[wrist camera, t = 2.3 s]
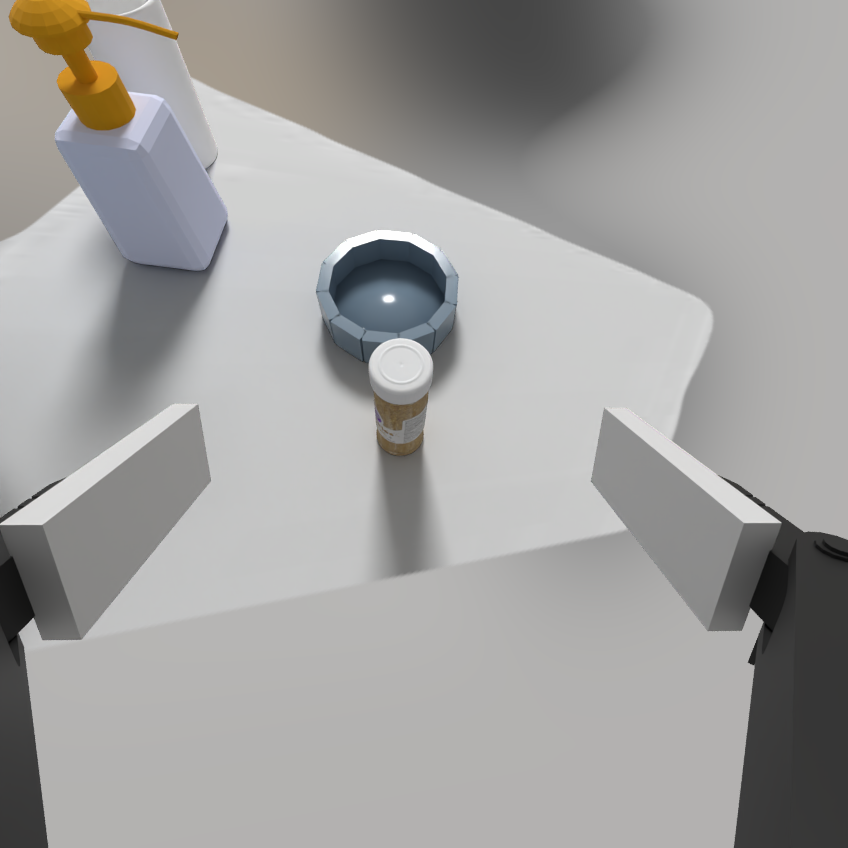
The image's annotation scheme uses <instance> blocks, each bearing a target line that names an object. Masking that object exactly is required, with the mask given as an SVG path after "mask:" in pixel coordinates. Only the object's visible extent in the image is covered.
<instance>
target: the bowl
mask: <svg viewBox="0 0 848 848" xmlns="http://www.w3.org/2000/svg"><path fill="white" fill-rule="evenodd" d="M457 293H458V274H457V272H456V271H455V269H454V268H453V266H452V264H451V263H450V261H449V260H448V258H447V256H446V255H445V253H444V252H443V251H441V249H440V248H439V247H437V246H435V245H433V244H431V243H430V242H428V241H426V240H424V239H423V238H421V237H419V236H417V235H415V234H413V235H412V233H406V232H396V231H385V230H379V233H378V231H377V230H376V231H373V232H369V233H366V234H363V235H360V236H357V237H354V238H350V239H347V240H346V242H345V241H344V242H343V243H342V244H341V245H340V246H339V247H338V248H336V249H335V250H334V251H333V252H332V253H331V254H330V255H329V256H328V257H327V258H326V259H325V260H324V261H323V263H322V265H321V270H320V275H319V279H318V284H317V289H316V294H317V298H318V302H319V306H320V309H321V313H322V317H323V319H324V322H325V324H326V326H327V328H328V330H329V332H330V334H331V337H332V339H333V341H334V343H336V345H337V346H339V347H341V348H342V349H344V350H345V351H347V352H348V353H350V354H351V355H353V356H355V357H356V358H358V359H359V360H361V361H362V362H363V361H364V360H365V363H369V360H370V357H371V355H372V353H373V352H374V350H375V349H376V348H377V347H378V346H379V345H381V344H382V343H384V342H386V341H388V340H392V339H398V338H404V339H410V340H413V341H415V342H417V343H419V344H421V345H422V346H423V347H424V348H425V349H426V350H427V351H428V352H429V354H432V352H434V351H435V350H436V349H437V347H438V346H439V345H440V344H441V342H442V341H443V340H444V339H445V337H446V336H447V335H448V334H449V332H450V331H451V330H452V328H453V322H454V317H455V311H456V306H457Z"/></svg>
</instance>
